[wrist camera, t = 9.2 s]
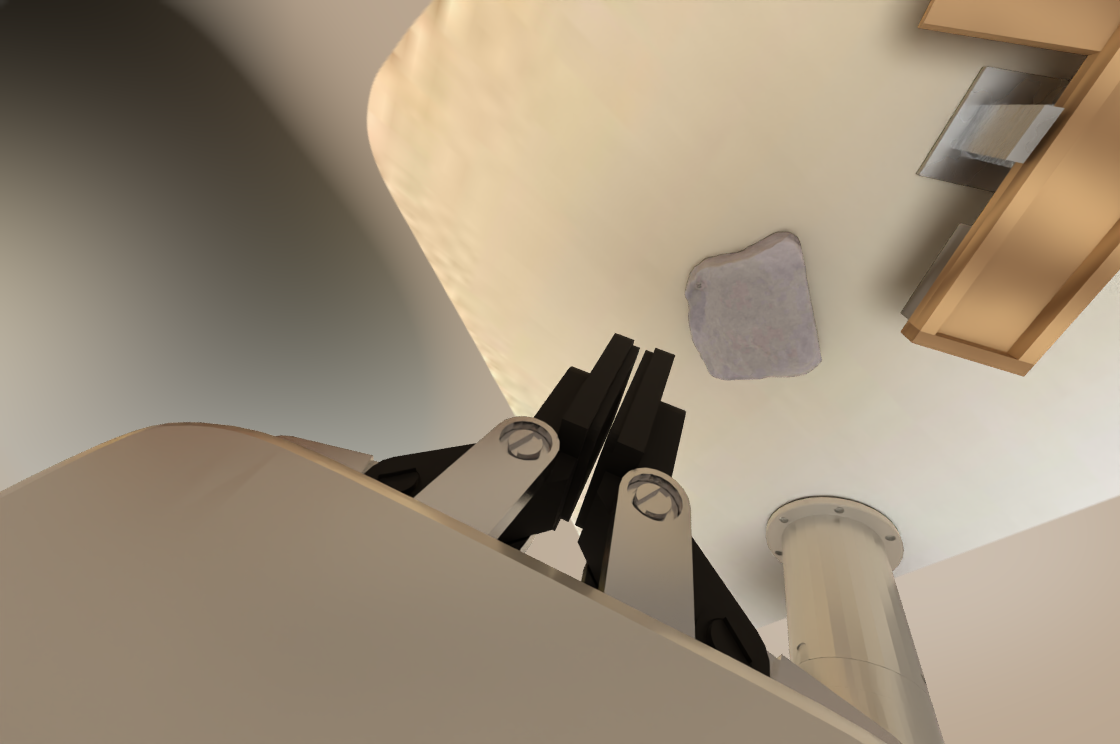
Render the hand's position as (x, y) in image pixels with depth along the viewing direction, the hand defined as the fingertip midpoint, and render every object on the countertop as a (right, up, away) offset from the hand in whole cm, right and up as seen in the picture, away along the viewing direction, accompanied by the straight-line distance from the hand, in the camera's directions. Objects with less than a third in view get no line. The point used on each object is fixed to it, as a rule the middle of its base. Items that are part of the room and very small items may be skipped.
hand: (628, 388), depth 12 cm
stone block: (+15, +6, +26) cm, 31 cm away
